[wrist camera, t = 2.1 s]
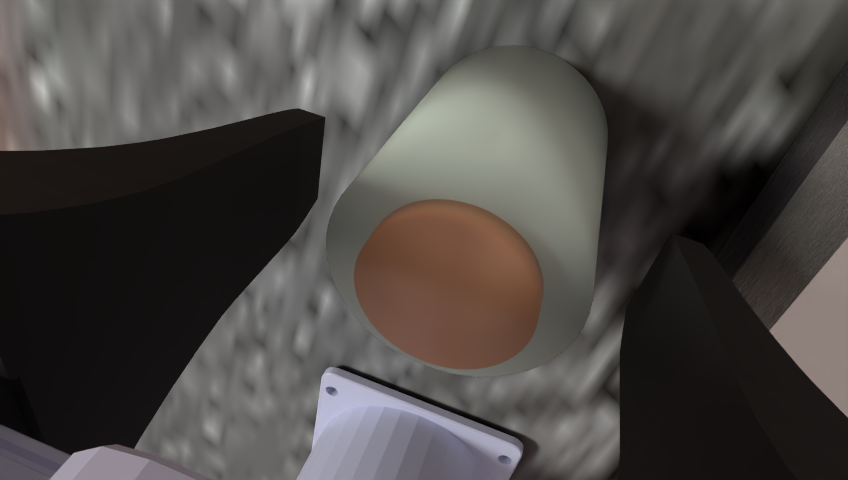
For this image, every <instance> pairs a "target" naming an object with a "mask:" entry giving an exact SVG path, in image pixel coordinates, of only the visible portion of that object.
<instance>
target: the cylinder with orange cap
mask: <svg viewBox="0 0 848 480" xmlns="http://www.w3.org/2000/svg"><path fill="white" fill-rule="evenodd" d="M607 145H608V128H607V120H606V116H605V112H604V109H603V107H602V104H601V102H600V99H599V97H598V96H597V94H596V92H595V90H594V89H593V87H592V86H591V85H590V83H589V82H588V81H587V80H586V78H585V77H584V76H583V75H582V74H581V73H580V72H579V71H578V70H576V69H575V68H574V67H573V66H571V65H570V64H569V63H567V62H566V61H564V60H562V59H561V58H559V57H557V56H555V55H553V54H551V53H548V52H545V51H543V50H540V49H535V48H531V47H526V46H515V45H511V46H497V47H492V48H487V49H484V50H481V51H478V52H475V53H473V54H471V55H469V56H467V57H465V58H463V59H461V60H460V61H458V62H457V63H455V64H454V65H453V66H452V67H451V68H450V69H448V70H447V71H446V72H445V73H444V74H443V76H442V77H441V78H440V79H439V80H438V82H437V83H436V84H435V85H434V86H433V87H432V89H431V90H430V91H429V92H428V93H427V95H426V96H425V97H424V98H423V99H422V100H421V102H420V103H419V104H418V105H417V106H416V108H415V109H414V110H413V111H412V112H411V113H410V115H409V116H408V117H407V118H406V119H405V121H404V122H403V123H402V124H401V125H400V126H399V128H398V129H397V130H396V131H395V132H394V134H393V135H392V136H391V137H390V138H389V139H388V141H387V142H386V143H385V144H384V145H383V147H382V148H381V149H380V150H379V151H378V153H377V154H376V155H375V156H374V157H373V158H372V160H371V161H370V162H369V163H368V164H367V166H366V167H365V168H364V169H363V170H362V171H361V173H360V174H359V175H358V176H357V177H356V179H355V180H354V181H353V182H352V183H351V184H350V186H349V187H348V188H347V189H346V190H345V192H344V193H343V194H342V195H341V197H340V198H339V200H338V202H337V203H336V205H335V207H334V209H333V212H332V214H331V217H330V220H329V224H328V229H327V237H326V251H327V260H328V264H329V268H330V272H331V275H332V278H333V280H334V283H335V285H336V288H337V290H338V292H339V293H340V295H341V297H342V299H343V301H344V302H345V303H346V305H347V306H348V308H349V309H350V311H351V312H352V313H353V314H354V316H355V317H356V318H357V319H358V320H359V321H360V323H361V324H362V325H363V326H364V327H365V328H366V329H368V330H369V331H370V332H371V333H372V334H373V335H374V336H375V337H377V338H378V339H379V340H380V341H382V342H383V343H384V344H386V345H387V346H389V347H390V348H392V349H393V350H395V351H396V352H398V353H400V354H402V355H404V356H406V357H407V358H409V359H411V360H414V361H416V362H418V363H420V364H423V365H425V366H428V367H431V368H434V369H437V370H440V371H445V372H449V373H453V374H459V375H465V376H477V377H494V376H505V375H511V374H517V373H520V372H524V371H528V370H531V369H533V368H536V367H538V366H541V365H543V364H545V363H546V362H548V361H550V360H552V359H553V358H555V357H557V356H558V355H559V354H560V353H562V352H563V351H564V350H565V349H567V348H568V346H569V345H570V344H571V343H572V342H573V341H574V340H575V339H576V338H577V336H578V335H579V333H580V332H581V330H582V329H583V327H584V325H585V323H586V320H587V318H588V316H589V314H590V309H591V305H592V301H593V293H594V283H595V272H596V262H597V251H598V241H599V230H600V220H601V209H602V199H603V188H604V178H605V167H606V157H607Z"/></svg>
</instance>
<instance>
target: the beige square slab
mask: <svg viewBox="0 0 848 480" xmlns="http://www.w3.org/2000/svg"><path fill="white" fill-rule="evenodd" d="M715 259H716V260H717V261H718V263H719V264H720V265H721V267H722V268H723V270H724V271H725V272H726V274H727V275H728V276H729V278H730V279H731V281H732V282H733V283H734V285H735V286H736V288H737V289H738V290H739V292H740V293H741V294H742V296H743V297H744V299H745V300H746V301H747V303H748V304H749V305H750V307H751V308H752V309H753V311H754V312H755V313H756V315H757V316H758V317H759V319H760V320H761V321H762V322H763V324H764V325H765V326H766V328H767V329H768V330H769V331H770V333H771V334H772V335H773V336H774V338H775V339H776V340H777V341H778V342H779V344H780V345H781V346H782V347H783V348H784V350H785V351H786V352H787V353H788V354H789V355H790V357H791V358H792V359H793V360H794V361H795V363H796V364H797V365H798V366H799V367H800V368H801V369H802V371H803V372H804V373H805V374H806V375H807V376H808V377H809V378H810V379H811V380H812V382H813V383H814V384H815V385H816V386H817V387H818V388H819V389H820V390H821V391H822V392H823V393H824V394H825V395H826V396H827V397H828V398H829V399H830V400H831V401H832V402H833V403H834V404H835V405H836V406H837V407H838V408H839V409H840V410H841V411H842V412H843V413H844V414H845V415H846V416H847V417H848V63H847V64H846V66H845V67H844V69H843V70H842V72H841V73H840V75H839V76H838V78H837V79H836V81H835V82H834V84H833V85H832V86H831V88H830V89H829V91H828V92H827V94H826V95H825V97H824V98H823V100H822V101H821V103H820V104H819V106H818V107H817V109H816V110H815V112H814V113H813V115H812V116H811V118H810V119H809V120H808V122H807V123H806V125H805V126H804V128H803V129H802V131H801V132H800V134H799V135H798V137H797V138H796V140H795V141H794V143H793V144H792V146H791V147H790V149H789V150H788V152H787V153H786V155H785V156H784V157H783V159H782V160H781V162H780V163H779V165H778V166H777V168H776V169H775V171H774V172H773V174H772V175H771V177H770V178H769V180H768V181H767V183H766V184H765V186H764V187H763V189H762V190H761V192H760V193H759V194H758V196H757V197H756V199H755V200H754V202H753V203H752V205H751V206H750V208H749V209H748V211H747V212H746V214H745V215H744V217H743V218H742V220H741V221H740V223H739V224H738V226H737V227H736V229H735V230H734V231H733V233H732V234H731V236H730V237H729V239H728V240H727V242H726V243H725V245H724V246H723V248H722V249H721V251H720V252H719V254H718V255H717V257H716V258H715Z"/></svg>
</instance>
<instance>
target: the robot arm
mask: <svg viewBox="0 0 848 480" xmlns="http://www.w3.org/2000/svg"><path fill="white" fill-rule="evenodd" d="M324 125H325V117H323V116H320V115H317V114H314V113H311V112H308V111H305V110H302V109H299V108H298V109H290V110H285V111H280V112H276V113H271V114H267V115H263V116H259V117H256V118H252V119H248V120H244V121H240V122H236V123H232V124H228V125H224V126H220V127H216V128H212V129H207V130H203V131H198V132H193V133H188V134H184V135H179V136H174V137H170V138H164V139H159V140H153V141H146V142H140V143H132V144H124V145H116V146H107V147H95V148H78V149H62V150H45V151H0V480H214V479H211V478H209V477H207V476H204V475H202V474H200V473H197V472H195V471H193V470H190V469H188V468H186V467H183V466H181V465H179V464H176V463H174V462H172V461H169V460H167V459H165V458H162V457H160V456H157V455H153V454H150V453H146V452H143V451H139V450H135V449H134V448H135V446H136V444H137V443H138V441H139V439H140V437H141V436H142V434H143V433H144V431H145V429H146V428H147V426H148V425H149V423H150V422H151V420H152V418H153V417H154V415H155V414H156V412H157V410H158V409H159V407H160V406H161V404H162V402H163V401H164V399H165V398H166V396H167V395H168V393H169V391H170V390H171V388H172V387H173V385H174V384H175V382H176V381H177V379H178V378H179V376H180V375H181V373H182V372H183V370H184V369H185V368H186V366H187V365H188V363H189V362H190V360H191V359H192V357H193V356H194V354H195V353H196V351H197V350H198V348H199V347H200V346H201V344H202V343H203V341H204V340H205V339H206V337H207V336H208V334H209V333H210V332H211V330H212V329H213V327H214V326H215V325H216V323H217V322H218V320H219V319H220V318H221V316H222V315H223V314H224V313H225V311H226V310H227V309H228V308H229V307H230V305H231V304H232V303H233V302H234V300H235V299H236V298H237V297H238V296H239V295H240V294H241V293H242V292H243V291H244V289H245V288H246V287H247V286H248V285H249V284H250V283H251V282H252V281H253V279H254V278H255V277H256V276H257V275H258V274H259V273H260V272H261V271H262V270H263V268H264V267H265V266H266V265H267V264H268V263H269V262H270V261H271V260H272V258H273V257H274V256H275V255H276V254H277V253H278V252H279V251H280V249H281V248H282V247H283V246H284V245H285V244H286V243H287V242H288V240H289V239H290V238H291V237H292V236H293V235H294V233H295V232H296V231H297V229H298V228H299V226H300V225H301V223H302V222H303V221H304V219H305V218H306V216H307V214H308V213H309V211H310V210H311V208H312V206H313V205H314V203H315V202H316V200H317V198H318V188H319V177H320V167H321V157H322V146H323V136H324ZM523 447H524V446H523V444H522V442H521V441H519V440H518V439H517V438H515V437H513V436H510V435H508V434H505V433H503V432H500V431H498V430H495V429H493V428H490V427H487V426H485V425H482V424H480V423H477V422H475V421H472V420H470V419H467V418H464V417H462V416H459V415H457V414H454V413H452V412H449V411H447V410H444V409H441V408H439V407H436V406H434V405H431V404H429V403H426V402H424V401H421V400H419V399H416V398H413V397H411V396H408V395H406V394H403V393H401V392H398V391H396V390H393V389H390V388H388V387H385V386H383V385H380V384H378V383H375V382H373V381H370V380H367V379H365V378H362V377H360V376H357V375H355V374H352V373H350V372H347V371H344V370H342V369H339V368H336V367H329V368H328V369H326V371H325V372H324V374H323V376H322V379H321V387H320V394H319V401H318V409H317V416H316V423H315V431H314V438H313V445H312V452H311V454H310V455H309V457H308V459H307V461H306V463H305V465H304V467H303V468H302V470H301V472H300V474H299V476H298V478H297V480H509V479H510V477H511V475H512V473H513V471H514V470H515V468H516V466H517V464H518V462H519V461H520V459H521V457H522V453H523ZM618 480H848V417H847V416H846V415H845V414H844V413H843V412H842V411H841V410H840V409H839V408H838V407H837V406H836V405H835V404H834V403H833V402H832V401H831V400H830V399H829V398H828V397H827V396H826V395H825V394H824V393H823V392H822V391H821V390H820V389H819V388H818V387H817V386H816V385H815V384H814V383H813V382H812V380H811V379H810V378H809V377H808V376H807V375H806V374H805V373H804V372H803V371H802V369H801V368H800V367H799V366H798V365H797V364H796V363H795V361H794V360H793V359H792V358H791V357H790V355H789V354H788V353H787V352H786V351H785V350H784V348H783V347H782V346H781V345H780V344H779V342H778V341H777V340H776V339H775V338H774V336H773V335H772V334H771V333H770V331H769V330H768V329H767V328H766V326H765V325H764V324H763V322H762V321H761V320H760V319H759V317H758V316H757V315H756V313H755V312H754V311H753V309H752V308H751V307H750V305H749V304H748V303H747V301H746V300H745V299H744V297H743V296H742V294H741V293H740V292H739V290H738V289H737V288H736V286H735V285H734V283H733V282H732V281H731V279H730V278H729V276H728V275H727V274H726V272H725V271H724V270H723V268H722V267H721V265H720V264H719V263H718V261H717V260H716V259H715V257H714V256H713V255H712V253H711V252H710V251H709V250H708V249H707V247H706V246H705V245H704V244H702V243H699V242H696V241H693V240H690V239H687V238H684V237H681V236H678V235H675V234H672V233H671V234H670V236H669V238H668V239H667V241H666V243H665V244H664V246H663V248H662V249H661V251H660V253H659V254H658V256H657V258H656V259H655V261H654V263H653V264H652V266H651V268H650V270H649V271H648V273H647V275H646V276H645V278H644V280H643V281H642V283H641V285H640V286H639V288H638V290H637V291H636V293H635V295H634V296H633V298H632V300H631V301H630V303H629V305H628V307H627V309H626V315H625V321H624V327H623V333H622V340H621V348H620V461H619V477H618Z"/></svg>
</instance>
